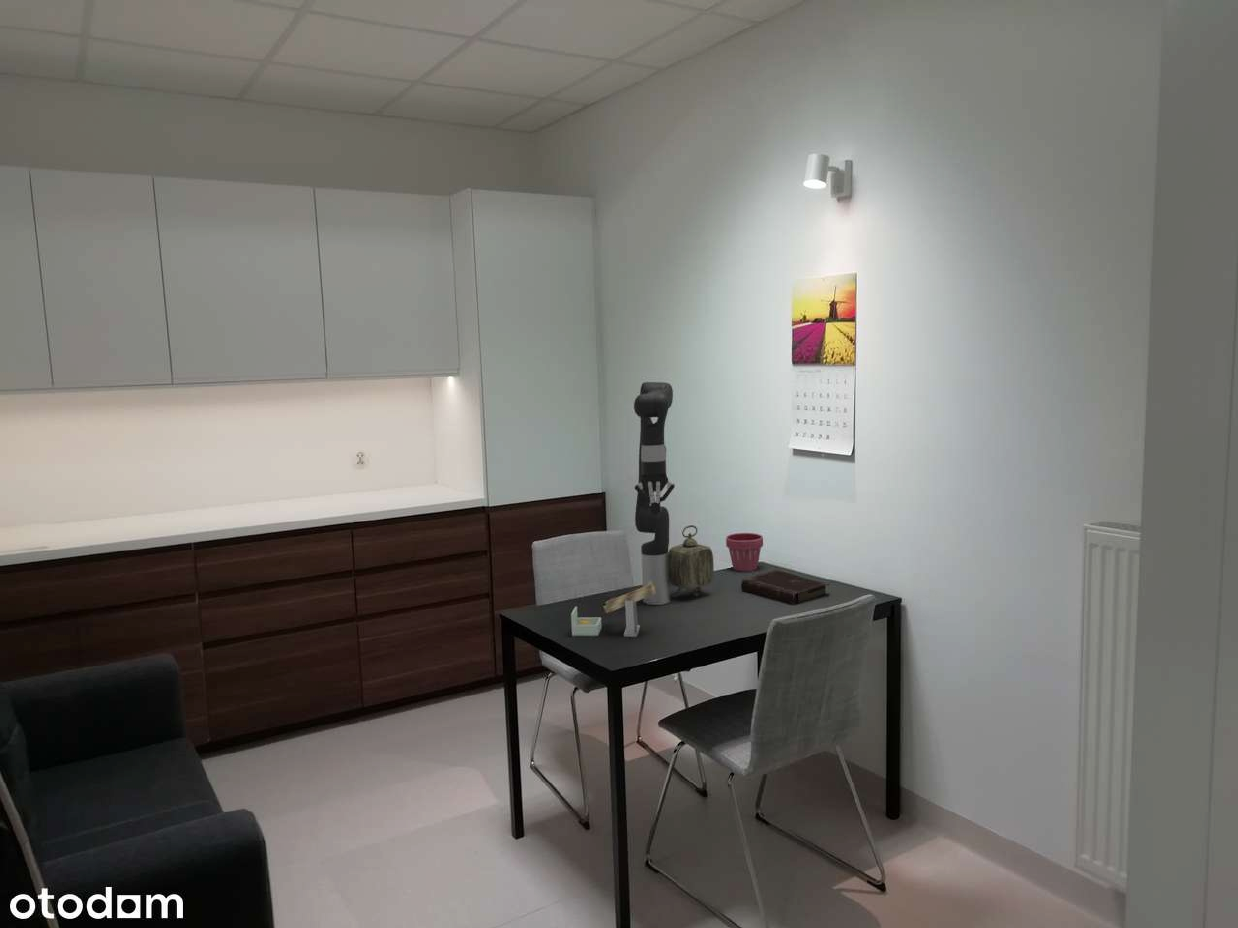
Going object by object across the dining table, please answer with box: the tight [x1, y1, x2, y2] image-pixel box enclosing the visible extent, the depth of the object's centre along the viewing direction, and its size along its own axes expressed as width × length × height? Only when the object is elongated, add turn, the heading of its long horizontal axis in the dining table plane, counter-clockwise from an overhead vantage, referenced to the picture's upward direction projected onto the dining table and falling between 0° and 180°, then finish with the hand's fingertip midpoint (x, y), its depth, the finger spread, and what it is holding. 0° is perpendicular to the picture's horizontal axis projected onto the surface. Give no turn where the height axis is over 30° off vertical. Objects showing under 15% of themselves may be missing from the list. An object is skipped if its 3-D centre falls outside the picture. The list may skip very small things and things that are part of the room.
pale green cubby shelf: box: [570, 606, 603, 637], centre depth 276 cm, size 8×8×7 cm
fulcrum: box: [623, 600, 641, 638], centre depth 274 cm, size 4×9×11 cm, turn 173°
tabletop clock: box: [668, 524, 715, 598], centre depth 310 cm, size 14×9×25 cm, turn 128°
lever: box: [603, 580, 656, 614], centre depth 276 cm, size 16×12×3 cm
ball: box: [580, 621, 590, 625], centre depth 276 cm, size 3×3×3 cm
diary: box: [740, 569, 831, 606], centre depth 310 cm, size 19×25×5 cm
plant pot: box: [725, 532, 764, 573], centre depth 346 cm, size 14×14×13 cm
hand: (655, 514), depth 277 cm, fingers closed
